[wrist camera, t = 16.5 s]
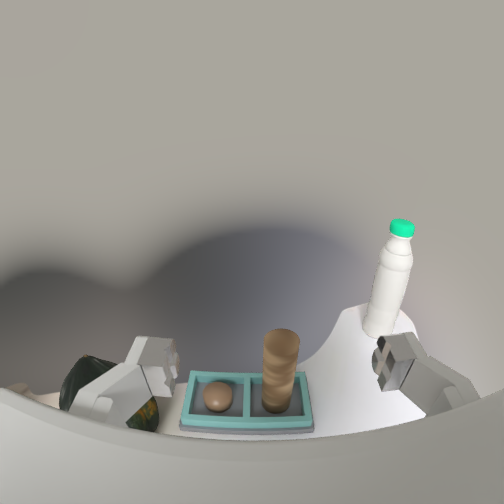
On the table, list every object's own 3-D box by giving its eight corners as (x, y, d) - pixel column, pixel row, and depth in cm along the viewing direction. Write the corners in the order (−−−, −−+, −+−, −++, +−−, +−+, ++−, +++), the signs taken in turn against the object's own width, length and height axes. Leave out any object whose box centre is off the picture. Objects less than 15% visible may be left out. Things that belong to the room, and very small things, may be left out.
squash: (123, 482, 23) (124, 371, 27) (43, 438, 26) (42, 343, 30) (170, 450, 36) (175, 365, 41) (97, 424, 39) (100, 347, 43)
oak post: (261, 413, 39) (264, 353, 33) (261, 391, 43) (263, 328, 37) (291, 413, 39) (301, 352, 33) (288, 391, 43) (297, 328, 37)
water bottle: (355, 326, 59) (377, 217, 49) (377, 317, 62) (400, 214, 51) (376, 345, 53) (406, 230, 43) (397, 333, 56) (428, 226, 45)
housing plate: (180, 430, 37) (175, 418, 35) (190, 379, 47) (187, 365, 45) (313, 432, 37) (317, 420, 35) (305, 380, 46) (307, 366, 45)
